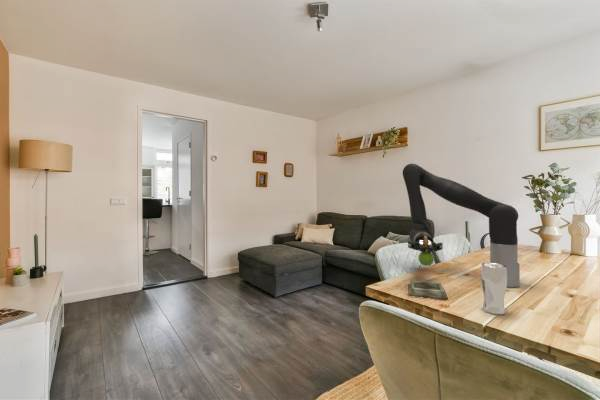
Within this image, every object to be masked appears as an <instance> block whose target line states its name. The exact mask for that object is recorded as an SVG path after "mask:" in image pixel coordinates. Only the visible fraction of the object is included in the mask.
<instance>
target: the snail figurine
mask: <svg viewBox="0 0 600 400" xmlns="http://www.w3.org/2000/svg"><path fill="white" fill-rule="evenodd" d="M426 234H427V233H426ZM417 258H418V262H419V263H420V264H421V265H423V266H431V265H432V264H433V263H434V260H435V257H434V254H432V252H431V253H429V252H428V239H427V236H425V233H424V252H421V251H420V253H419V254H418V257H417Z"/></svg>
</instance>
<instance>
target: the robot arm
mask: <svg viewBox="0 0 600 400" xmlns="http://www.w3.org/2000/svg"><path fill="white" fill-rule="evenodd" d="M402 177H403V180H404V184H405V187H406V191H407V192H406V193H407V196H408V197H407V198H408V202H409V209H410V219H411V220H410V221H411V223H412V224H414V225H420V226H423V228H413V229H411V230H410V231H409V233H408V234H409V235H408V237H409V240H408V241H407V248H408V249H412V250H415V251H419V252H420V253H421V252H424V233H425V236H427V239H428V252H429V253H431V254H432V252H439V251H441V250H443V242H437V243H436V242H435V240H434V234H433V232H432V230H431V226H430V225H429V222H428V217H427V210H426V206H425V201H424V199H423V196H422V191H421V187H423V188H426V189H428V190H430V191H431V192H433V193H435V194H436V196H438V197H440V198H442V199H443V200H446V201H448V202H450V203H452V204H454V205H457V206H460V207H461V208H465V209H469V210H471V211H473V212H474V211H475V212H476V213H477V212H478V213H479V214H481V215H483V216H485V217H486V218H488V234H489V243H490V244H489V263H497V264H502V265H505V266H506V270H507V287H506V288H520V286H521V285H520V284H521V283H520V279H521V278H520V273H521V272H520V268H521V267H520V265H521V264H520V263H518V262H519V261H518V259H519V258H518V251H519V250H518V247H519V245H518V235H517V234H518V229H517V226H518V224H517V223H518V222H517V221H518V220H519V213H518V211H517V210H516V208H515V207H513V206H512V205H509V204H506V203H503V202H501V201H496V200H494V199H492V198H489V197H487V196H484V195H483V194H481V193H479V192H477V191H476V190H475V189H474V190H473V189H472V188H470V187H467V186H466V185H463V184H461V183H459V182H456V181H453V180H451V179H448V178H444V177H441V176H438V175H435V174H433V173H431V172H429V171H428V170H426V169H424V168H423V167H422V166H420V165H419V164H416V163H408V164H407V165H405V166H404V167H403V169H402ZM426 233H427V234H426Z"/></svg>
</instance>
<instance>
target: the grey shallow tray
mask: <svg viewBox="0 0 600 400" xmlns="http://www.w3.org/2000/svg"><path fill="white" fill-rule="evenodd" d="M407 288H408V297H409V296H415V297H414V298H418V297H423V298H422V299H427V298H430V299H429V300H437V299H439V301H446V300H448V301H449V297H448V295H447V293H446V290H445V288H444V287H443V286H442V283H441V282H432V281H431V282H430V281H422V280H421V281H419V280H410V283H408V284H407Z"/></svg>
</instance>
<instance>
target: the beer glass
mask: <svg viewBox="0 0 600 400" xmlns="http://www.w3.org/2000/svg"><path fill="white" fill-rule="evenodd" d="M480 282H481V288H482V294H483V303H482V311H484V312H486V313H488V314H491V315H497V316H503V315H506V307H505V297H506V292H507V288H508V287H507V270H506V266H505V265H502V264H497V263H490V262H482V263H481V269H480Z"/></svg>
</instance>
